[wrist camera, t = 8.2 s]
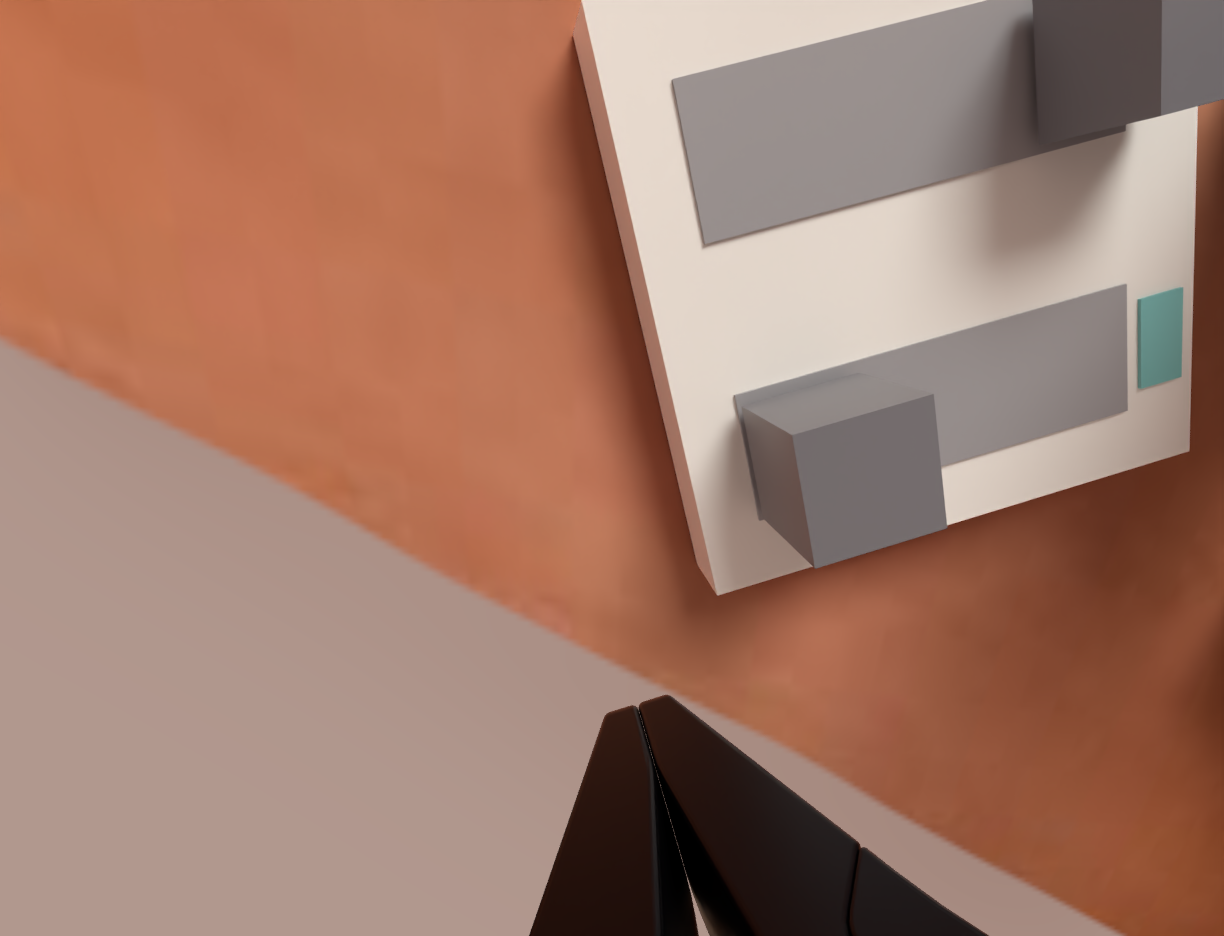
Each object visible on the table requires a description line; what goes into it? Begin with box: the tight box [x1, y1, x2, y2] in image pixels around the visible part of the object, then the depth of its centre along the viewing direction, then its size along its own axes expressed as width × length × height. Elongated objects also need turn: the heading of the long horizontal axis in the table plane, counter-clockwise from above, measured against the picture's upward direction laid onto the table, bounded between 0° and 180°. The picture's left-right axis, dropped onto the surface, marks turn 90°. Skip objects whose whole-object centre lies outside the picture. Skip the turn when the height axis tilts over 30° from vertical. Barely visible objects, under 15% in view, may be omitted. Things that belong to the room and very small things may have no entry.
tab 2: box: [1032, 0, 1224, 145], centre depth 13 cm, size 3×3×3 cm
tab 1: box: [741, 373, 947, 569], centre depth 15 cm, size 3×3×3 cm
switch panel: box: [573, 0, 1198, 596], centre depth 17 cm, size 14×14×2 cm
